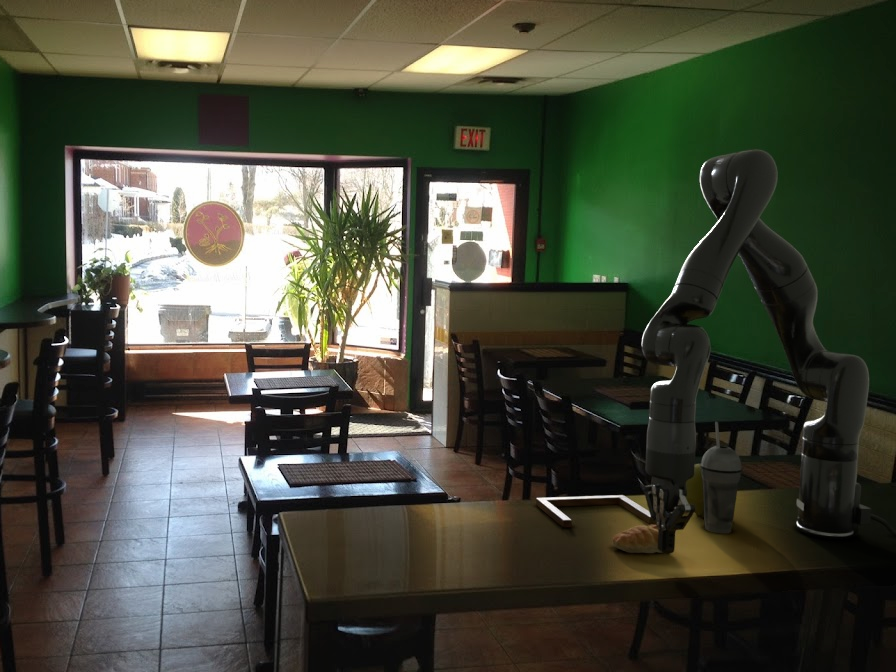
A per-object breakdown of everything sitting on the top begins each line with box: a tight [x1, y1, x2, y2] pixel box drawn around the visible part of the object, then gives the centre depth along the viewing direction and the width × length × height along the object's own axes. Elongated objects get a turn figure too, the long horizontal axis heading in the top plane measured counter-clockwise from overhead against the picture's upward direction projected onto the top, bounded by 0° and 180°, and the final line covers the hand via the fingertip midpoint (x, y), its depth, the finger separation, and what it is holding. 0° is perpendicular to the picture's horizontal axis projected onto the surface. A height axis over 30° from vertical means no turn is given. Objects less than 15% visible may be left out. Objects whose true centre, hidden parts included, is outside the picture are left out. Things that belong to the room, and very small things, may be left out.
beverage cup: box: [700, 421, 743, 534], centre depth 164 cm, size 7×7×20 cm
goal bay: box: [535, 494, 656, 528], centre depth 172 cm, size 19×15×1 cm
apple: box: [686, 463, 704, 517], centre depth 173 cm, size 10×10×11 cm
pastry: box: [611, 524, 663, 554], centre depth 153 cm, size 9×7×4 cm
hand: (665, 551), depth 145 cm, fingers closed
